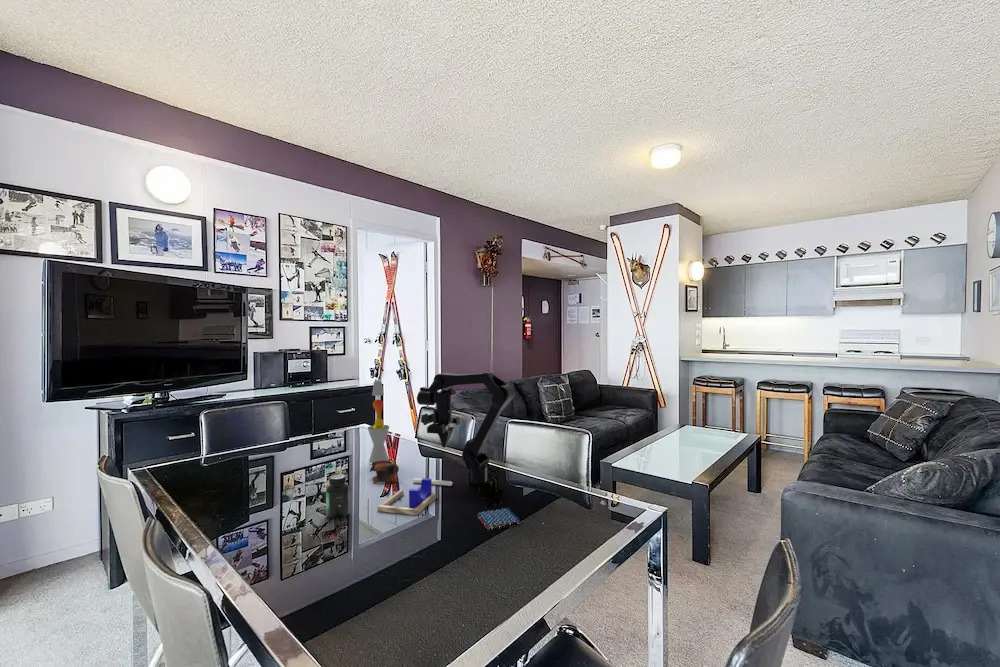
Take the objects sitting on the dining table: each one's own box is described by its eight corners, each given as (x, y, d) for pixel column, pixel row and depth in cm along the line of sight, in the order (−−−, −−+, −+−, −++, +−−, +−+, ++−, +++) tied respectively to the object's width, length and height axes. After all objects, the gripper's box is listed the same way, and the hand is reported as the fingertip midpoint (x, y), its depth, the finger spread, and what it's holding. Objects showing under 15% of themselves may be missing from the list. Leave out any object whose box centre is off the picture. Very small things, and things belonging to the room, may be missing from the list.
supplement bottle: (325, 520, 140) (324, 481, 140) (327, 512, 147) (326, 474, 147) (349, 518, 142) (348, 478, 142) (350, 509, 149) (349, 472, 148)
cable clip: (419, 495, 161) (419, 478, 161) (431, 496, 160) (431, 478, 160) (404, 508, 149) (404, 490, 149) (418, 509, 148) (417, 491, 148)
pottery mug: (364, 484, 174) (364, 462, 178) (378, 488, 182) (378, 467, 186) (393, 478, 171) (393, 456, 175) (406, 482, 179) (405, 460, 183)
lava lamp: (366, 460, 203) (365, 380, 203) (387, 457, 207) (386, 378, 206) (370, 466, 195) (368, 382, 194) (391, 463, 199) (390, 380, 198)
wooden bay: (436, 497, 158) (436, 493, 158) (416, 515, 144) (416, 510, 144) (400, 494, 162) (400, 489, 162) (377, 511, 147) (377, 506, 147)
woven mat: (475, 518, 142) (475, 511, 142) (508, 513, 146) (508, 506, 146) (486, 532, 132) (486, 525, 132) (521, 526, 136) (521, 519, 136)
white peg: (453, 485, 170) (453, 480, 170) (451, 486, 169) (451, 482, 169) (413, 481, 175) (413, 477, 174) (412, 483, 173) (411, 478, 173)
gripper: (434, 401, 189) (434, 440, 189) (413, 409, 171) (413, 452, 171) (460, 402, 186) (460, 441, 186) (441, 410, 168) (442, 454, 168)
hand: (444, 447), depth 178 cm, fingers closed
